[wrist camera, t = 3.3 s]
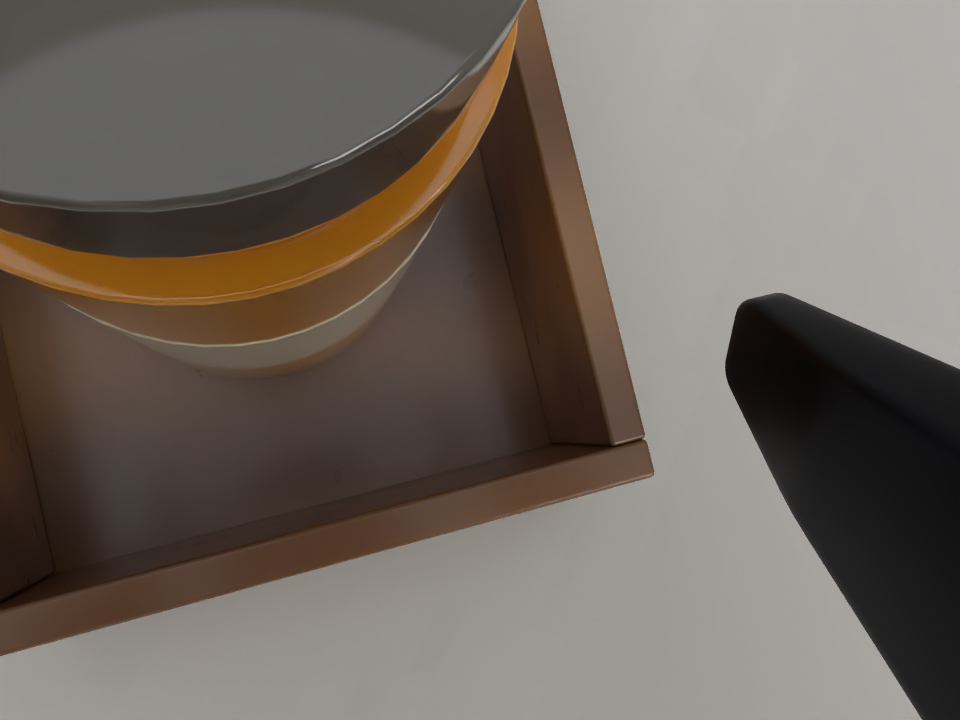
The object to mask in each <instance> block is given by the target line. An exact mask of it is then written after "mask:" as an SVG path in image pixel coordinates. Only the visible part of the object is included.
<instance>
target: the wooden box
mask: <svg viewBox="0 0 960 720" xmlns="http://www.w3.org/2000/svg"><path fill="white" fill-rule="evenodd" d="M644 437H645V433H644V429H643V425H642V421H641V417H640V413H639V409H638V405H637V401H636V397H635V393H634V389H633V384H632V380H631V376H630V372H629V368H628V364H627V360H626V356H625V352H624V348H623V344H622V340H621V336H620V332H619V328H618V324H617V320H616V316H615V312H614V308H613V304H612V300H611V296H610V292H609V288H608V284H607V280H606V276H605V272H604V268H603V264H602V260H601V256H600V252H599V248H598V244H597V240H596V236H595V232H594V228H593V224H592V219H591V215H590V211H589V207H588V203H587V199H586V195H585V191H584V187H583V183H582V179H581V175H580V171H579V167H578V163H577V159H576V155H575V151H574V147H573V143H572V139H571V135H570V131H569V127H568V123H567V119H566V115H565V111H564V107H563V103H562V99H561V95H560V91H559V87H558V83H557V79H556V75H555V71H554V67H553V63H552V59H551V55H550V50H549V46H548V42H547V38H546V34H545V30H544V26H543V22H542V18H541V14H540V10H539V6H538V2H537V0H526V2H525V4H524V6H523V8H522V10H521V12H520V15H519V17H518V28H517V37H516V41H515V46H514V50H513V55H512V59H511V64H510V68H509V73H508V77H507V80H506V82H505V85H504V88H503V90H502V93H501V96H500V98H499V101H498V104H497V106H496V109H495V112H494V114H493V116H492V118H491V120H490V122H489V124H488V126H487V128H486V129H485V131H484V133H483V135H482V137H481V139H480V141H479V142H478V144H477V146H476V148H475V150H474V152H473V153H472V155H471V157H470V159H469V160H468V162H467V164H466V166H465V167H464V169H463V171H462V173H461V174H460V176H459V178H458V179H457V181H456V183H455V185H454V186H453V188H452V190H451V192H450V193H449V195H448V197H447V199H446V200H445V202H444V204H443V206H442V208H441V210H440V212H439V214H438V216H437V218H436V220H435V222H434V223H433V225H432V227H431V229H430V231H429V233H428V234H427V236H426V238H425V240H424V241H423V243H422V245H421V247H420V248H419V250H418V252H417V253H416V255H415V257H414V259H413V260H412V262H411V264H410V265H409V267H408V269H407V271H406V272H405V274H404V276H403V277H402V279H401V281H400V282H399V284H398V285H397V287H396V288H395V290H394V291H393V292H392V294H391V296H390V298H389V299H388V301H387V303H386V304H385V306H384V308H383V310H382V311H381V313H380V314H379V315H378V317H377V318H376V319H375V321H374V322H373V324H372V325H371V326H370V327H369V328H368V329H367V330H366V331H365V332H364V334H363V335H362V336H361V337H360V338H359V339H358V340H357V341H355V342H354V343H353V344H352V345H350V346H349V347H348V348H347V349H345V350H344V351H343V352H341V353H340V354H338V355H336V356H335V357H333V358H332V359H330V360H328V361H327V362H325V363H323V364H320V365H318V366H316V367H313V368H311V369H309V370H306V371H303V372H300V373H296V374H293V375H289V376H285V377H278V378H272V379H259V380H243V379H233V378H225V377H220V376H216V375H211V374H207V373H204V372H201V371H198V370H196V369H193V368H190V367H187V366H185V365H183V364H181V363H179V362H178V361H176V360H174V359H172V358H170V357H168V356H166V355H164V354H161V353H158V352H156V351H154V350H152V349H150V348H148V347H146V346H144V345H142V344H140V343H138V342H136V341H134V340H133V339H131V338H129V337H127V336H125V335H123V334H121V333H119V332H117V331H115V330H113V329H111V328H109V327H107V326H105V325H103V324H101V323H99V322H97V321H96V320H94V319H92V318H90V317H88V316H86V315H84V314H82V313H80V312H78V311H76V310H74V309H72V308H70V307H69V306H67V305H66V304H65V303H63V302H62V301H60V300H58V299H57V298H55V297H53V296H51V295H49V294H47V293H45V292H43V291H41V290H39V289H37V288H35V287H34V286H32V285H30V284H28V283H26V282H24V281H22V280H20V279H18V278H16V277H14V276H12V275H10V274H9V273H7V272H5V271H3V270H1V269H0V656H3V655H6V654H10V653H14V652H17V651H21V650H24V649H28V648H32V647H35V646H39V645H43V644H46V643H50V642H54V641H57V640H61V639H64V638H68V637H72V636H75V635H79V634H83V633H86V632H90V631H93V630H97V629H101V628H104V627H108V626H112V625H115V624H119V623H123V622H126V621H130V620H133V619H137V618H141V617H144V616H148V615H152V614H155V613H159V612H163V611H166V610H170V609H173V608H177V607H181V606H184V605H188V604H192V603H195V602H199V601H202V600H206V599H210V598H213V597H217V596H221V595H224V594H228V593H232V592H235V591H239V590H242V589H246V588H250V587H253V586H257V585H261V584H264V583H268V582H272V581H275V580H279V579H282V578H286V577H290V576H293V575H297V574H301V573H304V572H308V571H311V570H315V569H319V568H322V567H326V566H330V565H333V564H337V563H341V562H344V561H348V560H351V559H355V558H359V557H362V556H366V555H370V554H373V553H377V552H381V551H384V550H388V549H391V548H395V547H399V546H402V545H406V544H410V543H413V542H417V541H420V540H424V539H428V538H431V537H435V536H439V535H442V534H446V533H450V532H453V531H457V530H460V529H464V528H468V527H471V526H475V525H479V524H482V523H486V522H489V521H493V520H497V519H500V518H504V517H508V516H511V515H515V514H519V513H522V512H526V511H529V510H533V509H537V508H540V507H544V506H548V505H551V504H555V503H559V502H562V501H566V500H569V499H573V498H577V497H580V496H584V495H588V494H591V493H595V492H598V491H602V490H606V489H609V488H613V487H617V486H620V485H624V484H628V483H631V482H635V481H638V480H642V479H646V478H649V477H652V476H653V475H654V469H653V465H652V461H651V457H650V453H649V449H648V445H647V442H646V441H645V440H643V439H642V438H644Z"/></svg>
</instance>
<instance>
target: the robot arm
mask: <svg viewBox="0 0 960 720" xmlns="http://www.w3.org/2000/svg"><path fill="white" fill-rule="evenodd" d="M725 371H726V377H727V381H728V384H729V386H730V389H731V391H732V393H733V395H734V397H735V399H736V401H737V403H738V405H739V407H740V409H741V411H742V413H743V415H744V418H745V420H746V422H747V424H748V426H749V428H750V430H751V432H752V434H753V436H754V438H755V440H756V442H757V444H758V446H759V448H760V450H761V452H762V454H763V456H764V459H765V461H766V463H767V465H768V467H769V469H770V471H771V473H772V475H773V477H774V479H775V481H776V483H777V485H778V487H779V489H780V491H781V493H782V495H783V497H784V499H785V501H786V503H787V505H788V506H789V508H790V510H791V512H792V514H793V515H794V517H795V519H796V520H797V522H798V524H799V525H800V527H801V529H802V530H803V532H804V534H805V535H806V537H807V538H808V540H809V542H810V543H811V545H812V546H813V548H814V549H815V551H816V553H817V554H818V556H819V557H820V559H821V560H822V562H823V564H824V565H825V567H826V568H827V570H828V572H829V573H830V575H831V576H832V578H833V579H834V581H835V583H836V584H837V586H838V587H839V589H840V591H841V592H842V594H843V595H844V597H845V598H846V600H847V602H848V603H849V605H850V606H851V608H852V609H853V611H854V613H855V614H856V616H857V617H858V619H859V621H860V622H861V624H862V625H863V627H864V628H865V630H866V632H867V633H868V635H869V636H870V638H871V640H872V641H873V643H874V644H875V646H876V647H877V649H878V651H879V652H880V654H881V655H882V657H883V658H884V660H885V662H886V663H887V665H888V666H889V668H890V670H891V671H892V673H893V674H894V676H895V677H896V679H897V681H898V682H899V684H900V685H901V687H902V689H903V690H904V692H905V693H906V695H907V696H908V698H909V700H910V701H911V703H912V704H913V706H914V707H915V709H916V711H917V712H918V714H919V715H920V717H921V719H922V720H960V369H958V368H955V367H953V366H951V365H948V364H946V363H944V362H942V361H939V360H937V359H935V358H932V357H930V356H928V355H925V354H923V353H921V352H919V351H916V350H914V349H912V348H909V347H907V346H905V345H902V344H900V343H898V342H895V341H893V340H891V339H889V338H886V337H884V336H882V335H879V334H877V333H875V332H872V331H870V330H868V329H866V328H863V327H861V326H859V325H856V324H854V323H852V322H849V321H847V320H845V319H842V318H840V317H838V316H836V315H833V314H831V313H829V312H826V311H824V310H822V309H819V308H817V307H815V306H813V305H810V304H808V303H806V302H803V301H801V300H799V299H796V298H794V297H792V296H789V295H787V294H783V293H774V294H769V295H765V296H761V297H756V298H752V299H748V300H746V301H744V302H742V303H741V305H740V306H739V308H738V309H737V312H736V315H735V320H734V325H733V329H732V334H731V338H730V343H729V348H728V352H727V357H726V363H725Z"/></svg>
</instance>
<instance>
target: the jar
mask: <svg viewBox="0 0 960 720" xmlns="http://www.w3.org/2000/svg"><path fill="white" fill-rule="evenodd" d="M525 2H526V0H0V269H1V270H3V271H5V272H7V273H9V274H10V275H12V276H14V277H16V278H18V279H20V280H22V281H24V282H26V283H28V284H30V285H32V286H34V287H35V288H37V289H39V290H41V291H43V292H45V293H47V294H49V295H51V296H53V297H55V298H57V299H58V300H60V301H62V302H63V303H65V304H66V305H67V306H69V307H70V308H72V309H74V310H76V311H78V312H80V313H82V314H84V315H86V316H88V317H90V318H92V319H94V320H96V321H97V322H99V323H101V324H103V325H105V326H107V327H109V328H111V329H113V330H115V331H117V332H119V333H121V334H123V335H125V336H127V337H129V338H131V339H133V340H134V341H136V342H138V343H140V344H142V345H144V346H146V347H148V348H150V349H152V350H154V351H156V352H158V353H161V354H164V355H166V356H168V357H170V358H172V359H174V360H176V361H178V362H179V363H181V364H183V365H185V366H187V367H190V368H193V369H196V370H198V371H201V372H204V373H207V374H211V375H216V376H220V377H225V378H233V379H243V380H259V379H272V378H278V377H285V376H289V375H293V374H296V373H300V372H303V371H306V370H309V369H311V368H313V367H316V366H318V365H320V364H323V363H325V362H327V361H328V360H330V359H332V358H333V357H335V356H336V355H338V354H340V353H341V352H343V351H344V350H345V349H347V348H348V347H349V346H350V345H352V344H353V343H354V342H355V341H357V340H358V339H359V338H360V337H361V336H362V335H363V334H364V332H365V331H366V330H367V329H368V328H369V327H370V326H371V325H372V324H373V322H374V321H375V319H376V318H377V317H378V315H379V314H380V313H381V311H382V310H383V308H384V306H385V304H386V303H387V301H388V299H389V298H390V296H391V294H392V292H393V291H394V290H395V288H396V287H397V285H398V284H399V282H400V281H401V279H402V277H403V276H404V274H405V272H406V271H407V269H408V267H409V265H410V264H411V262H412V260H413V259H414V257H415V255H416V253H417V252H418V250H419V248H420V247H421V245H422V243H423V241H424V240H425V238H426V236H427V234H428V233H429V231H430V229H431V227H432V225H433V223H434V222H435V220H436V218H437V216H438V214H439V212H440V210H441V208H442V206H443V204H444V202H445V200H446V199H447V197H448V195H449V193H450V192H451V190H452V188H453V186H454V185H455V183H456V181H457V179H458V178H459V176H460V174H461V173H462V171H463V169H464V167H465V166H466V164H467V162H468V160H469V159H470V157H471V155H472V153H473V152H474V150H475V148H476V146H477V144H478V142H479V141H480V139H481V137H482V135H483V133H484V131H485V129H486V128H487V126H488V124H489V122H490V120H491V118H492V116H493V114H494V112H495V109H496V106H497V104H498V101H499V98H500V96H501V93H502V90H503V88H504V85H505V82H506V80H507V77H508V73H509V68H510V64H511V59H512V55H513V50H514V46H515V41H516V37H517V28H518V17H519V15H520V12H521V10H522V8H523V6H524V4H525Z"/></svg>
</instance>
